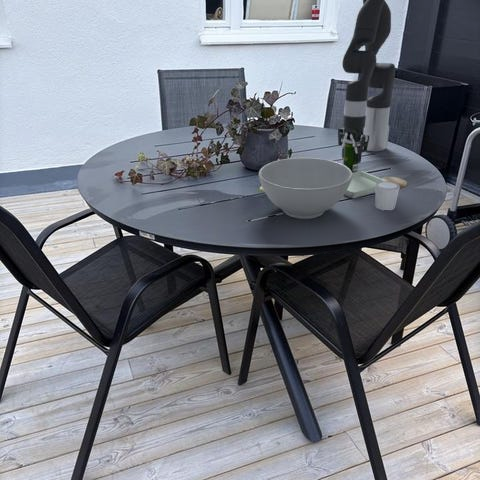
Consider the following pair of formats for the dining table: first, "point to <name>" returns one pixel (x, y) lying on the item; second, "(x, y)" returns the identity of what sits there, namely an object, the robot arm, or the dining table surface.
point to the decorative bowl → (305, 185)
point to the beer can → (350, 155)
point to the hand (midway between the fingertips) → (350, 160)
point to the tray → (362, 184)
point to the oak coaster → (396, 181)
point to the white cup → (386, 195)
